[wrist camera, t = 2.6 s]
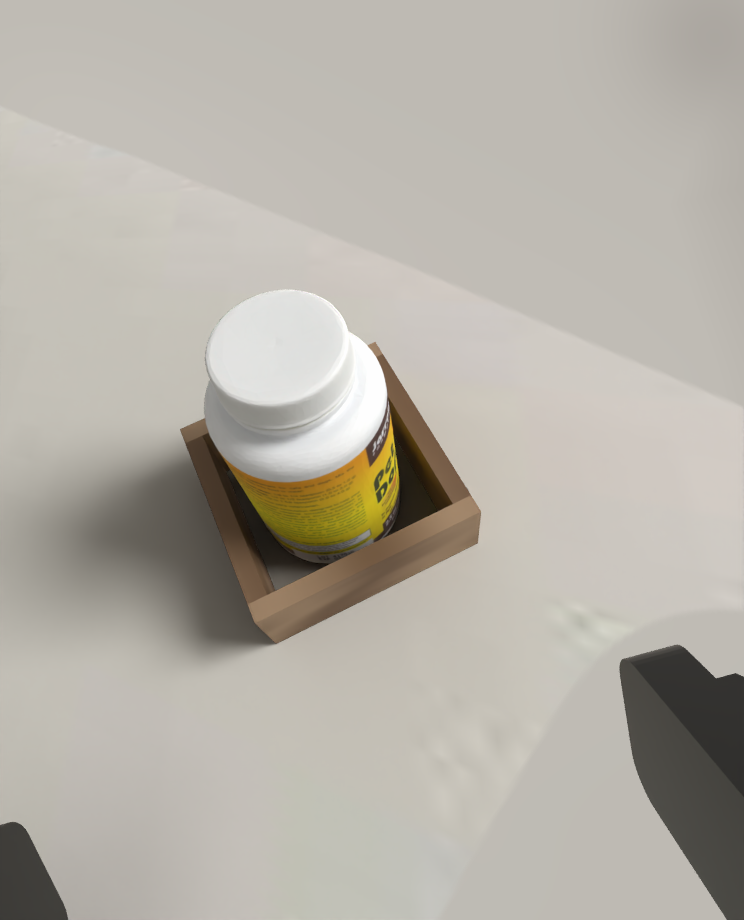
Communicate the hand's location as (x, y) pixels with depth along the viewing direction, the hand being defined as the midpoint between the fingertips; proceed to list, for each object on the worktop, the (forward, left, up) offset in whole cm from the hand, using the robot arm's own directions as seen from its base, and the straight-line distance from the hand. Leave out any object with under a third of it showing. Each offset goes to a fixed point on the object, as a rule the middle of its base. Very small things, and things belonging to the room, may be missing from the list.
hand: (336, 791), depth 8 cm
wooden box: (+2, +11, -14) cm, 18 cm away
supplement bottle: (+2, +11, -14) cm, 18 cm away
